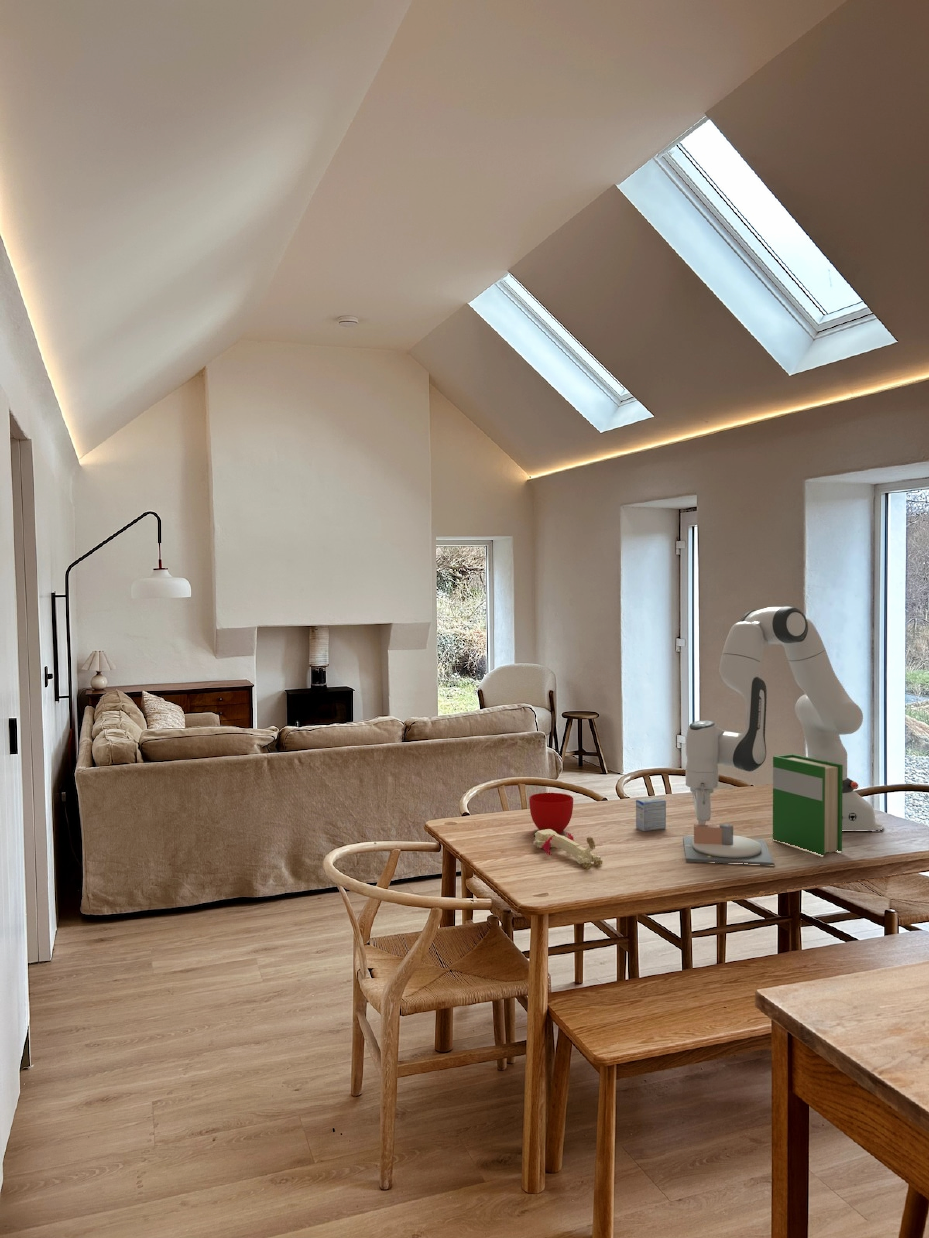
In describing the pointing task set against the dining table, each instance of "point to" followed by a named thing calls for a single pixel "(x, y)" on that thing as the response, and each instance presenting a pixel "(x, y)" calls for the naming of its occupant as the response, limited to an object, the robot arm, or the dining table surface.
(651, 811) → the medicine box
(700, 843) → the dial
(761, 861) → the dial base plate
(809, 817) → the hardback book
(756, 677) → the robot arm
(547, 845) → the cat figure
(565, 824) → the ceramic cup
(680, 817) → the dining table surface
